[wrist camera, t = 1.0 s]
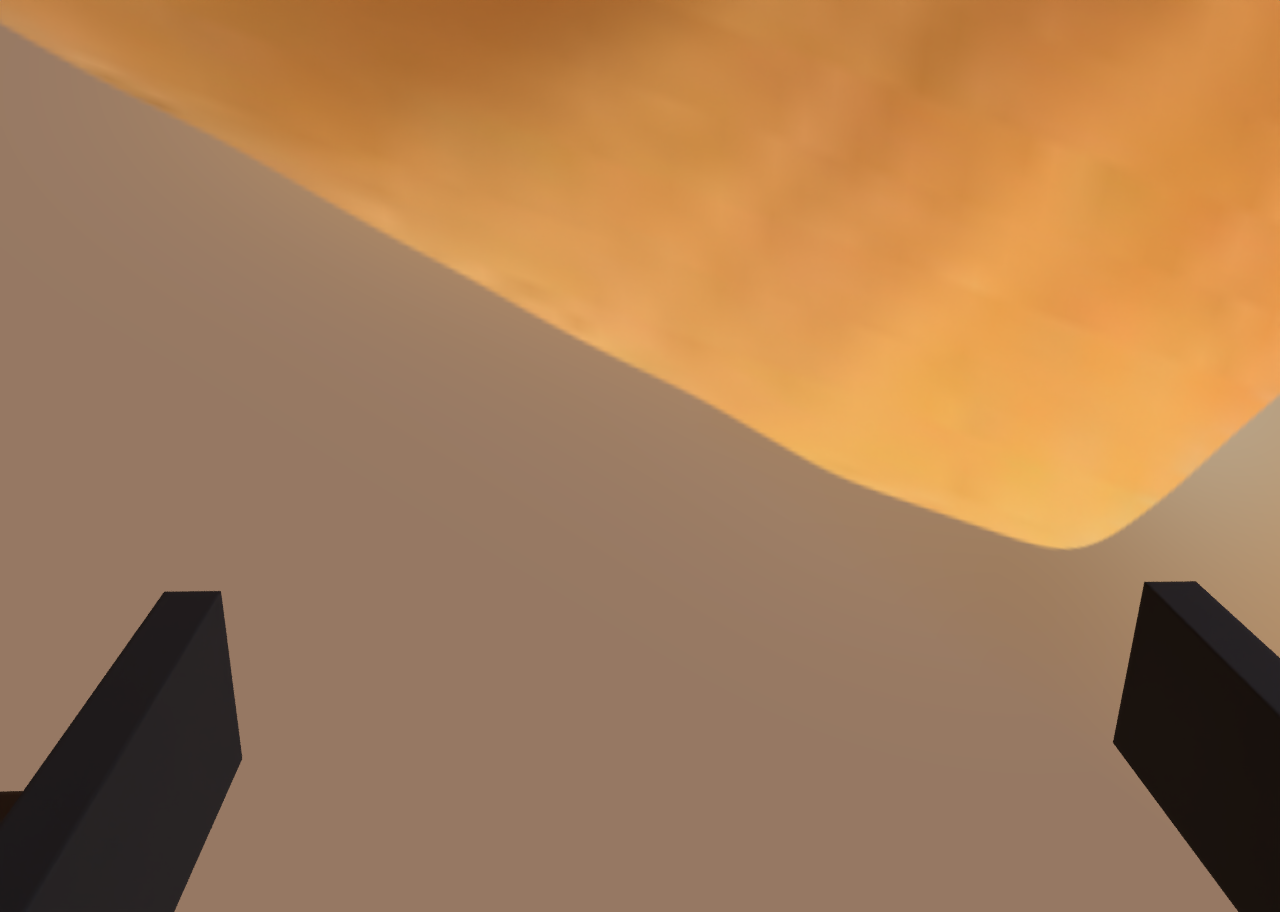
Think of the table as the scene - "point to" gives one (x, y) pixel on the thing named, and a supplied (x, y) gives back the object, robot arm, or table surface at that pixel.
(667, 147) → the table surface
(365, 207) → the table surface
